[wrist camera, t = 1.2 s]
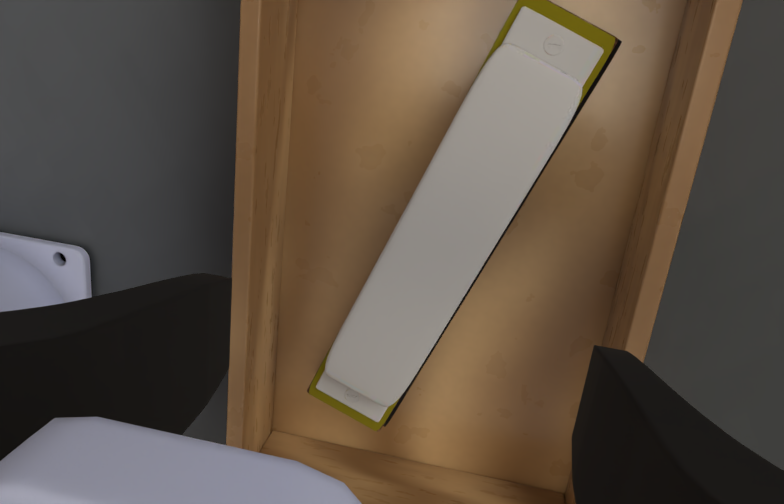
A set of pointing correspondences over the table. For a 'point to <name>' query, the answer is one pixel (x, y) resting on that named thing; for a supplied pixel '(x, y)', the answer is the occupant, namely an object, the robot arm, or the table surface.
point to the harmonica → (463, 205)
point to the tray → (506, 265)
